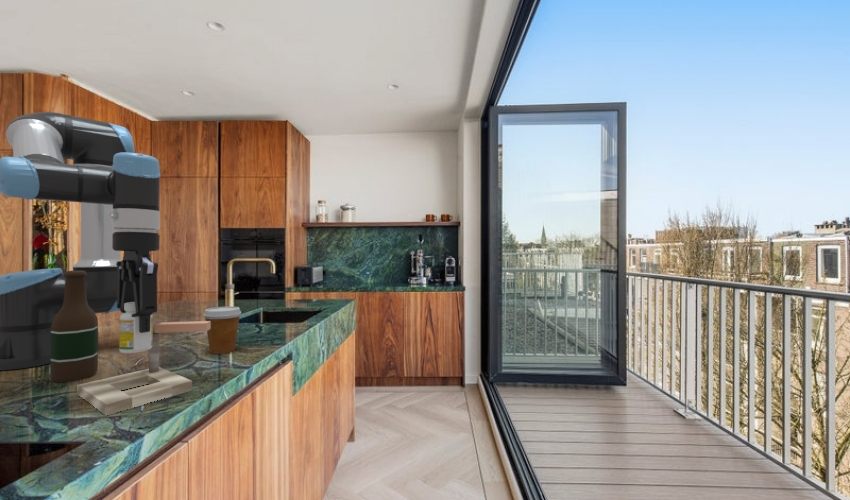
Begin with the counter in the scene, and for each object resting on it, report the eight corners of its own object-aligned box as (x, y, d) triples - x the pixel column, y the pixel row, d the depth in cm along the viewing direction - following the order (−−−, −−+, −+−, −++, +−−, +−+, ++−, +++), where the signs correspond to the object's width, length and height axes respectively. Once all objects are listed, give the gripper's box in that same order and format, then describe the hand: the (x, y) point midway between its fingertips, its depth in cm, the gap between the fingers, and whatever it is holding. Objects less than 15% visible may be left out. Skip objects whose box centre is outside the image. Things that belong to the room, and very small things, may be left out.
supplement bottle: (133, 354, 72) (133, 305, 71) (112, 352, 73) (112, 303, 73) (159, 347, 77) (159, 301, 77) (138, 345, 78) (139, 300, 78)
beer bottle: (100, 376, 84) (100, 271, 84) (51, 385, 78) (51, 272, 78) (95, 368, 89) (96, 269, 89) (49, 376, 83) (50, 270, 83)
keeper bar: (143, 333, 80) (143, 325, 80) (150, 330, 83) (150, 322, 83) (206, 331, 83) (206, 323, 83) (210, 328, 85) (210, 320, 85)
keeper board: (77, 395, 73) (77, 342, 73) (158, 375, 85) (158, 329, 85) (106, 415, 65) (106, 356, 65) (192, 390, 76) (192, 339, 76)
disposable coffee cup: (224, 356, 100) (225, 312, 100) (194, 354, 102) (195, 310, 102) (248, 347, 109) (248, 306, 109) (220, 345, 111) (220, 305, 111)
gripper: (96, 231, 77) (96, 343, 77) (132, 229, 66) (131, 358, 67) (140, 233, 83) (139, 336, 83) (178, 231, 73) (178, 349, 73)
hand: (136, 345), depth 75 cm, fingers closed on supplement bottle, 5 cm apart
